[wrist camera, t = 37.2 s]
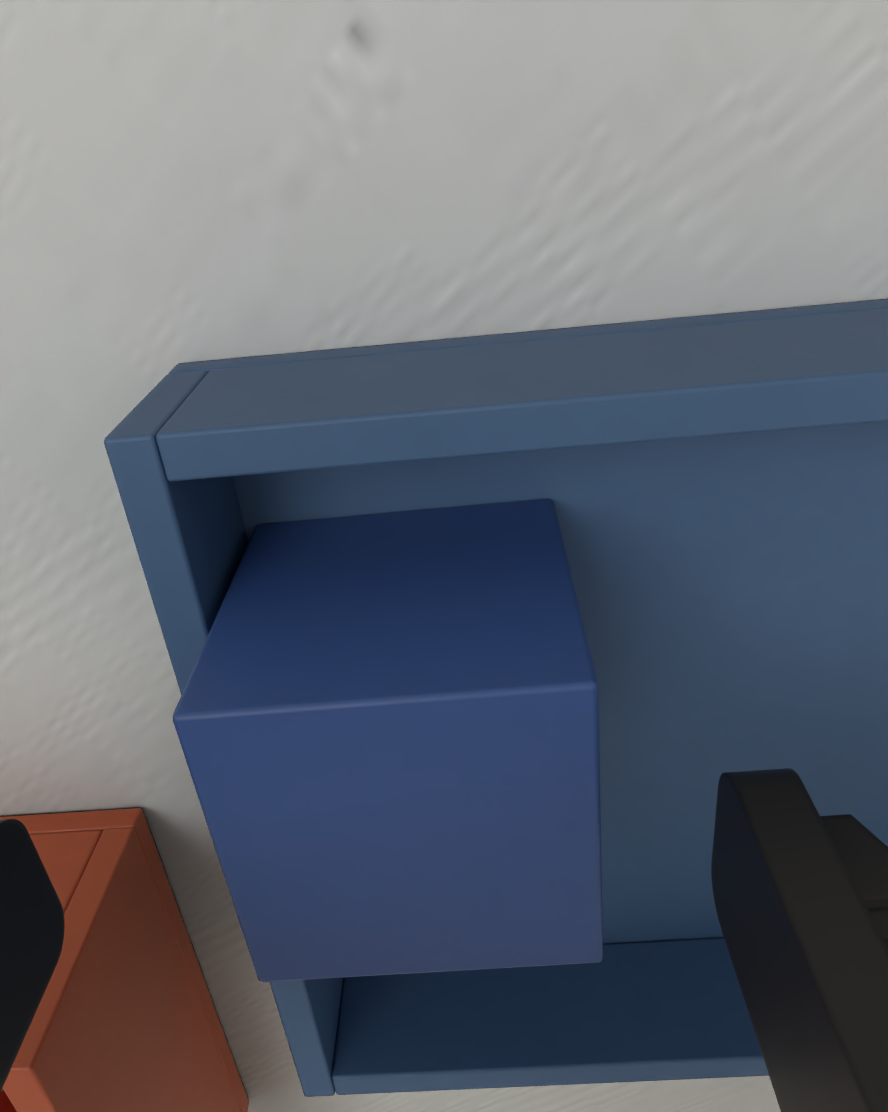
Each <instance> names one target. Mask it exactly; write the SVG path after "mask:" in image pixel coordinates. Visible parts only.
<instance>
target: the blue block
mask: <svg viewBox="0 0 888 1112" xmlns="http://www.w3.org/2000/svg"><path fill="white" fill-rule="evenodd" d="M173 722H174V725H175V728H176V731H177V734H178V737H179V740H180V743H181V746H182V749H183V752H184V755H185V758H186V761H187V764H188V767H189V770H190V773H191V776H192V779H193V782H194V785H195V789H196V792H197V795H198V798H199V801H200V804H201V807H202V810H203V813H204V816H205V819H206V822H207V825H208V828H209V831H210V834H211V837H212V840H213V843H214V846H215V849H216V852H217V855H218V858H219V861H220V864H221V867H222V870H223V873H224V876H225V879H226V882H227V885H228V888H229V892H230V895H231V898H232V901H233V904H234V907H235V910H236V913H237V916H238V919H239V922H240V925H241V928H242V931H243V934H244V937H245V940H246V943H247V946H248V949H249V952H250V955H251V958H252V961H253V964H254V967H255V970H256V973H257V976H258V979H259V980H260V981H262V982H272V981H290V980H307V979H324V978H341V977H359V976H376V975H393V974H411V973H428V972H445V971H462V970H480V969H497V968H514V967H531V966H549V965H566V964H583V963H598V962H600V961H602V958H603V918H602V858H601V799H600V739H599V685H598V681H597V677H596V673H595V669H594V665H593V661H592V657H591V653H590V648H589V644H588V640H587V636H586V632H585V628H584V624H583V620H582V616H581V612H580V608H579V603H578V599H577V595H576V591H575V587H574V583H573V579H572V575H571V571H570V567H569V563H568V558H567V554H566V550H565V546H564V542H563V538H562V534H561V530H560V526H559V522H558V518H557V513H556V509H555V505H554V502H553V501H552V500H550V499H543V500H532V501H521V502H509V503H498V504H487V505H475V506H464V507H453V508H442V509H430V510H419V511H408V512H396V513H385V514H374V515H363V516H351V517H340V518H329V519H318V520H306V521H295V522H284V523H272V524H261V525H258V526H256V528H255V530H254V532H253V534H252V537H251V539H250V541H249V544H248V546H247V548H246V550H245V553H244V555H243V557H242V559H241V562H240V564H239V566H238V569H237V571H236V573H235V575H234V578H233V580H232V582H231V584H230V587H229V589H228V591H227V594H226V596H225V598H224V600H223V603H222V605H221V607H220V609H219V612H218V614H217V616H216V618H215V621H214V623H213V625H212V628H211V630H210V632H209V634H208V637H207V639H206V641H205V643H204V646H203V648H202V650H201V653H200V655H199V657H198V659H197V662H196V664H195V666H194V668H193V671H192V673H191V675H190V678H189V680H188V682H187V684H186V687H185V689H184V691H183V693H182V696H181V698H180V700H179V703H178V705H177V707H176V709H175V712H174V714H173Z"/></svg>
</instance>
